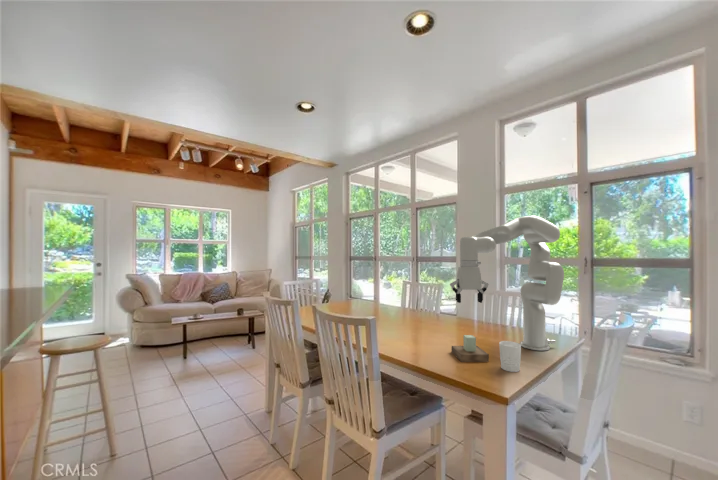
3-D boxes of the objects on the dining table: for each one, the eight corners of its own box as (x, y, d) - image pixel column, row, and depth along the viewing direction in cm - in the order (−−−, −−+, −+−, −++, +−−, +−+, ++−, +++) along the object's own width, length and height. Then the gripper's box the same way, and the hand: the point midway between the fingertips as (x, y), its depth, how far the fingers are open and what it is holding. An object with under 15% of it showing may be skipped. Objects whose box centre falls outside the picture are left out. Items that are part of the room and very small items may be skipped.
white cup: (495, 365, 126) (495, 341, 126) (513, 364, 126) (513, 340, 127) (506, 373, 118) (506, 347, 118) (525, 372, 118) (525, 346, 119)
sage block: (472, 348, 138) (472, 335, 138) (475, 351, 134) (475, 337, 134) (463, 348, 138) (463, 335, 138) (466, 351, 134) (466, 337, 134)
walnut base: (476, 352, 142) (476, 345, 142) (488, 361, 130) (488, 354, 130) (451, 352, 141) (451, 345, 141) (461, 361, 129) (461, 354, 129)
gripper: (483, 263, 141) (484, 300, 141) (447, 263, 141) (447, 301, 140) (491, 264, 134) (492, 303, 133) (453, 264, 133) (453, 303, 133)
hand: (469, 302), depth 137 cm, fingers open, 9 cm apart
